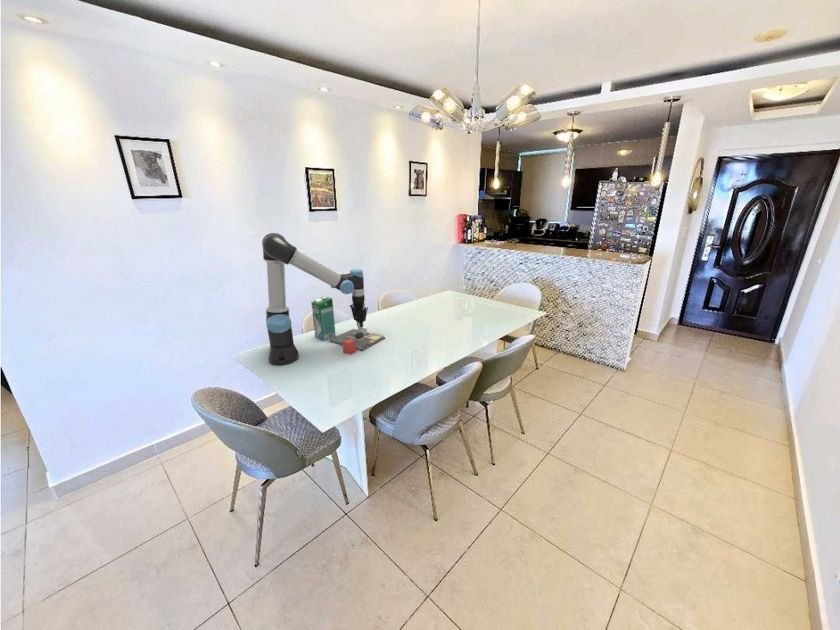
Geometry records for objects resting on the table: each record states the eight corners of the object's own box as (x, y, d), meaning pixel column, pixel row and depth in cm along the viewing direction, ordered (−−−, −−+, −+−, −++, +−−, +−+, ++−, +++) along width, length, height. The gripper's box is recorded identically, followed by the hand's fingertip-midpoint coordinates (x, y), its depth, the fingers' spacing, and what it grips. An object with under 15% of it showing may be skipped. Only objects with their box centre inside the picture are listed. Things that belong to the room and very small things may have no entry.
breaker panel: (329, 341, 204) (328, 334, 203) (353, 330, 221) (352, 323, 219) (361, 351, 191) (361, 343, 189) (385, 338, 208) (384, 331, 206)
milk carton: (315, 337, 210) (310, 298, 202) (327, 333, 217) (324, 295, 208) (323, 341, 204) (318, 301, 196) (335, 336, 211) (332, 298, 203)
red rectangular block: (343, 352, 189) (342, 341, 187) (349, 349, 193) (348, 338, 191) (350, 354, 187) (349, 343, 184) (356, 351, 191) (355, 340, 188)
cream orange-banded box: (359, 334, 210) (358, 329, 208) (363, 332, 213) (363, 327, 212) (362, 335, 208) (362, 330, 207) (367, 333, 211) (366, 328, 210)
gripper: (345, 294, 204) (348, 331, 211) (362, 298, 197) (364, 335, 205) (354, 292, 210) (356, 327, 217) (370, 295, 203) (372, 331, 211)
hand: (360, 331), depth 211 cm, fingers closed
